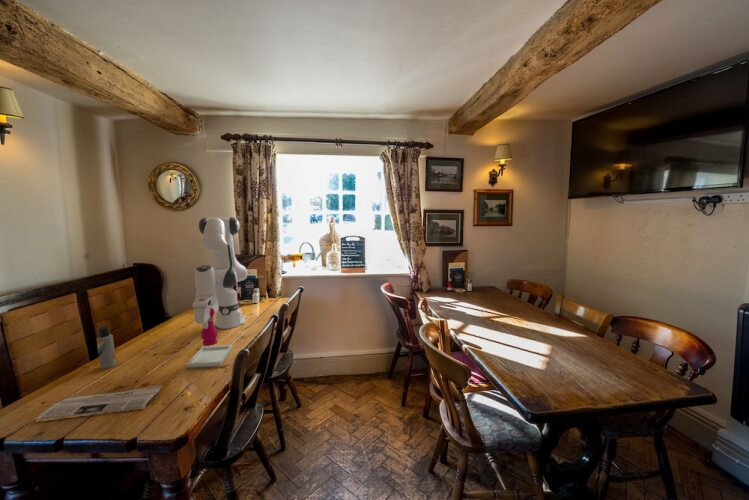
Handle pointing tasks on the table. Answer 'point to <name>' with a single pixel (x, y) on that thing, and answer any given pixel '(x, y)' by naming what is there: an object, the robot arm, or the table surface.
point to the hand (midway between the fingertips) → (208, 325)
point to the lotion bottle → (105, 348)
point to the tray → (210, 357)
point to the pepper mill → (210, 331)
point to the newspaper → (101, 403)
